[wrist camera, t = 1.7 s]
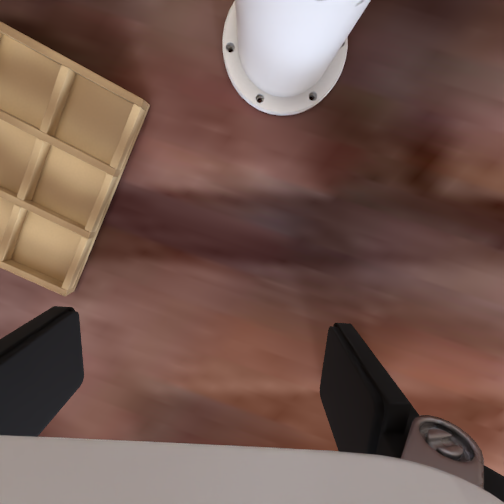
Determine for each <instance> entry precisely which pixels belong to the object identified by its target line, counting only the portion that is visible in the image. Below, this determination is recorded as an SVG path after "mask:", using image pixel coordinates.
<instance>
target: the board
mask: <svg viewBox="0 0 504 504" xmlns="http://www.w3.org/2000/svg"><path fill="white" fill-rule="evenodd" d="M149 107H150V105H149V104H148V103H147V102H146V101H145V100H144V99H142V98H140V97H138V96H136V95H134V94H133V93H131V92H129V91H127V90H125V89H123V88H122V87H120V86H118V85H116V84H114V83H112V82H111V81H109V80H107V79H105V78H103V77H102V76H100V75H98V74H96V73H94V72H92V71H91V70H89V69H87V68H85V67H83V66H81V65H80V64H78V63H76V62H74V61H72V60H70V59H69V58H67V57H65V56H63V55H61V54H59V53H58V52H56V51H54V50H52V49H50V48H48V47H47V46H45V45H43V44H41V43H39V42H37V41H36V40H34V39H32V38H30V37H28V36H26V35H25V34H23V33H21V32H19V31H17V30H15V29H14V28H12V27H10V26H8V25H6V24H4V23H3V22H1V21H0V268H2V269H5V270H7V271H9V272H11V273H14V274H16V275H18V276H20V277H23V278H25V279H27V280H29V281H32V282H34V283H36V284H38V285H41V286H43V287H45V288H47V289H50V290H52V291H54V292H56V293H59V294H61V295H63V296H67V295H68V294H70V293H72V292H74V291H75V288H76V286H77V283H78V281H79V278H80V276H81V274H82V271H83V269H84V266H85V264H86V261H87V259H88V256H89V254H90V252H91V249H92V247H93V244H94V242H95V239H96V237H97V234H98V232H99V229H100V227H101V225H102V222H103V220H104V217H105V215H106V212H107V210H108V207H109V205H110V202H111V200H112V198H113V195H114V193H115V190H116V188H117V185H118V183H119V180H120V178H121V176H122V173H123V171H124V168H125V166H126V163H127V161H128V158H129V156H130V153H131V151H132V149H133V146H134V144H135V141H136V139H137V136H138V134H139V131H140V129H141V126H142V124H143V122H144V119H145V117H146V114H147V112H148V109H149Z"/></svg>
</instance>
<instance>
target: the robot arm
mask: <svg viewBox="0 0 504 504" xmlns="http://www.w3.org/2000/svg"><path fill="white" fill-rule="evenodd" d="M370 1H371V0H235V1H234V3H233V5H232V6H231V8H230V10H229V12H228V15H227V18H226V21H225V24H224V31H223V38H222V40H223V57H224V63H225V66H226V70H227V73H228V76H229V78H230V80H231V82H232V84H233V86H234V88H235V89H236V90H237V92H238V93H239V94H240V96H241V97H242V98H243V99H244V100H245V101H247V102H248V103H249V104H250V105H252V106H253V107H255V108H256V109H258V110H260V111H263V112H265V113H268V114H273V115H279V116H283V115H294V114H298V113H301V112H304V111H306V110H308V109H310V108H312V107H313V106H315V105H316V104H317V103H319V102H320V101H321V100H322V99H323V98H324V97H325V96H326V95H327V94H328V93H329V92H330V91H331V89H332V88H333V86H334V85H335V84H336V82H337V80H338V78H339V76H340V74H341V73H342V70H343V67H344V64H345V60H346V55H347V48H348V35H349V33H350V32H351V30H352V29H353V27H354V26H355V24H356V22H357V21H358V19H359V18H360V16H361V15H362V13H363V11H364V10H365V8H366V7H367V5H368V4H369V2H370ZM230 49H231V50H233V52H228V51H229V50H230ZM309 97H313V100H310V99H309ZM258 99H261V100H262V102H261V103H258V102H257V100H258ZM83 378H84V369H83V357H82V345H81V333H80V321H79V314H78V312H75V310H74V309H73V308H72V307H57V306H54V307H52V308H50V309H49V310H47V311H46V312H44V313H42V314H41V315H39V316H37V317H36V318H34V319H33V320H31V321H29V322H28V323H26V324H24V325H23V326H21V327H20V328H18V329H16V330H15V331H13V332H11V333H10V334H8V335H6V336H5V337H3V338H2V339H0V504H504V476H502V475H500V474H498V473H497V472H495V471H493V470H491V469H490V468H488V467H486V466H484V462H483V455H482V451H481V449H480V448H479V446H478V445H477V443H476V442H475V441H474V440H473V439H472V438H471V437H470V436H469V435H468V434H467V433H466V432H464V431H463V430H462V429H460V428H459V427H457V426H456V425H454V424H452V423H450V422H449V421H446V420H444V419H441V418H439V417H434V416H430V415H421V416H419V414H418V413H417V412H416V410H415V409H414V408H413V406H412V405H411V403H410V402H409V401H408V399H407V398H406V397H405V395H404V394H403V393H402V391H401V390H400V389H399V387H398V386H397V385H396V383H395V382H394V381H393V379H392V378H391V377H390V375H389V374H388V373H387V371H386V370H385V369H384V367H383V366H382V365H381V363H380V362H379V361H378V359H377V358H376V357H375V355H374V354H373V352H372V351H371V350H370V348H369V347H368V346H367V344H366V343H365V342H364V340H363V339H362V338H361V336H360V335H359V334H358V332H357V331H356V330H355V328H354V327H353V326H352V325H351V324H346V323H335V324H334V326H333V327H332V326H330V327H329V330H328V336H327V343H326V350H325V357H324V363H323V370H322V377H321V384H320V397H321V400H322V403H323V406H324V409H325V412H326V415H327V418H328V421H329V424H330V427H331V430H332V433H333V436H334V439H335V441H336V444H337V447H338V450H339V451H326V450H307V449H288V448H268V447H249V446H230V445H208V444H186V443H165V442H144V441H122V440H99V439H78V438H56V437H37V436H38V435H39V434H40V433H41V432H42V431H43V429H44V428H45V427H46V426H47V425H48V423H49V422H50V421H51V420H52V419H53V418H54V416H55V415H56V414H57V413H58V412H59V410H60V409H61V408H62V407H63V406H64V405H65V403H66V402H67V401H68V400H69V399H70V397H71V396H72V395H73V394H74V393H75V392H76V390H77V389H78V388H79V387H80V385H81V384H82V382H83Z"/></svg>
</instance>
